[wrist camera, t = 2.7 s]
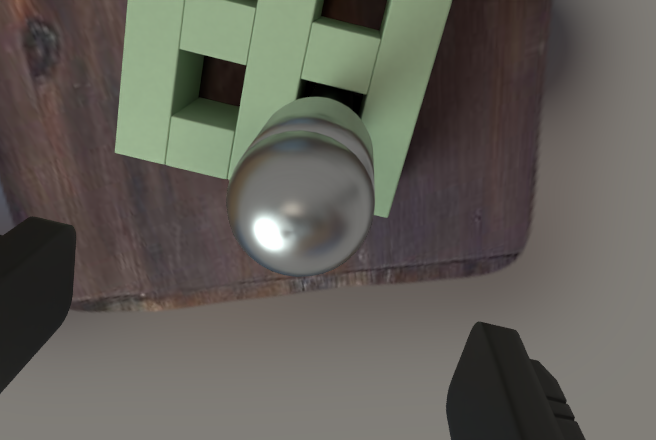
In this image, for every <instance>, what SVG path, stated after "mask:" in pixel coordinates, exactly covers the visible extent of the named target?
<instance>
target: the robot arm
mask: <svg viewBox="0 0 656 440" xmlns="http://www.w3.org/2000/svg"><path fill="white" fill-rule="evenodd" d="M75 249H76V232H75V229H74V227H73V226H72V225H68V224H64V223H60V222H56V221H51V220H47V219H43V218H38V217H33V216H32V217H29V218H27V219H26V220H25V221H23V222H22V223H20V224H19V225H17V226H16V227H14V228H13V229H12V230H10V231H9V232H7V233H6V234H4V235H0V393H1V392H2V391H3V390H4V389H5V388H6V387H7V385H8V384H9V383H10V382H11V381H12V380H13V379H14V378H15V376H16V375H17V374H18V373H19V372H20V371H21V370H22V369H23V367H24V366H25V365H26V364H27V363H28V362H29V361H30V360H31V358H32V357H33V356H34V355H35V354H36V353H37V352H38V350H40V348H41V347H42V346H43V345H44V344H45V343H46V342H47V341H48V339H49V338H50V337H51V336H52V335H53V334H54V333H55V331H56V330H57V329H58V328H59V327H60V326H61V325H62V323H63V321H64V320H65V318H66V316H67V314H68V311H69V308H70V305H71V301H72V295H73V281H74V265H75ZM446 413H447V420H448V425H449V430H450V436H451V440H585V438H584V436H583V434H582V432H581V429H580V428H579V425H578V423H577V422H576V421H574V418H575V417H574V415H573V413H572V411H571V409H570V407H569V405H568V404H566V398H565V396H564V394H563V392H562V390H561V388H560V386H559V384H558V382H557V380H556V379H555V378H554V377H553V376H552V375H551V374H550V373H549V372H548V371H547V370H546V369H545V367H544V366H543V365H542V364H541V363H540V362H539V361H537V360H532V359H529V357H528V354H527V352H526V350H525V347H524V345H523V343H522V340H521V338H520V336H519V334H518V332H517V331H516V330H513V329H509V328H505V327H500V326H496V325H491V324H488V323H483V322H477V323H476V324H475V325H474V326H473V328H472V330H471V332H470V335H469V337H468V339H467V342H466V345H465V347H464V350H463V352H462V355H461V357H460V360H459V362H458V365H457V368H456V370H455V373H454V375H453V378H452V380H451V383H450V386H449V390H448V395H447V403H446Z"/></svg>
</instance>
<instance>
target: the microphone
mask: <svg viewBox="0 0 656 440" xmlns="http://www.w3.org/2000/svg"><path fill="white" fill-rule="evenodd" d="M353 103H354V98H353V93H352V91H349V90H345V89H341V88H337V87H333V86H329V85H325V84H320V83H318V84H317V85H316V87H315V88H314V90H313V91H312V93H311V95H310V97H306V98H302V99H298V100H295V101H293V102H291V103H289V104H287V105H285V106H283V107H282V108H280V109H279V110H278V111H277V112H275V113H274V114H273V115H272V116H271V118H270V119H269V120H268V121H267V123H266V124H265V126H264V127H263V128H262V130H261V131H260V132H259V134H258V135H257V137H256V138H255V139H254V141H253V142H252V143H251V145H250V146H249V148H248V149H247V150H246V152H245V153H244V154H243V156H242V157H241V159H240V160H239V162H238V163H237V165H236V167H235V168H234V171H233V173H232V176H231V179H230V182H229V186H228V189H227V199H226V206H227V213H228V220H229V224H230V226H231V229H232V232H233V235H234V236H235V238H236V240H237V241H238V243H239V245H240V246H241V247H242V249H243V250H244V251H245V252H246V253H247V254H248V255H249V256H250V257H251V258H252V259H254V260H255V261H256V262H257V263H259V264H260V265H262V266H264V267H265V268H267V269H269V270H271V271H274V272H277V273H280V274H283V275H289V276H295V277H298V276H313V275H318V274H323V273H326V272H328V271H330V270H333V269H335V268H337V267H338V266H340V265H341V264H343V263H344V262H346V261H347V260H348V259H349V258H350V257H351V256H352V255H353V254H354V253H355V252H356V251H357V250H358V249H359V248H360V246H361V245H362V243H363V242H364V240H365V239H366V237H367V235H368V232H369V230H370V227H371V225H372V220H373V216H374V210H375V185H374V155H373V146H372V141H371V138H370V135H369V133H368V131H367V129H366V127H365V125H364V123H363V122H362V120H361V119H360V118H359V116H358V115H357V114H356V113H354V112H353Z"/></svg>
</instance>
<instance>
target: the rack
mask: <svg viewBox="0 0 656 440" xmlns="http://www.w3.org/2000/svg"><path fill="white" fill-rule="evenodd" d="M323 3H324V0H128V5H127V17H126V28H125V40H124V52H123V64H122V75H121V87H120V99H119V111H118V122H117V134H116V146H115V153H118V154H122V155H127V156H131V157H135V158H139V159H143V160H148V161H152V162H156V163H160V164H166V165H168V166H173V167H177V168H181V169H185V170H189V171H193V172H198V173H202V174H206V175H210V176H214V177H219V178H223V179H227V178H228V180H230V179H231V176H232V173H233V171H234V168H235V167H236V165H237V163H238V162H239V160H240V159H241V157H242V156H243V154H244V153H245V152H246V150H247V149H248V148H249V146H250V145H251V143H252V142H253V141H254V139H255V138H256V137H257V135H258V134H259V132H260V131H261V130H262V128H263V127H264V126H265V124H266V123H267V121H268V120H269V119H270V118H271V116H272V115H273V114H274V113H275V112H277V111H278V110H279V109H280V108H282V107H283V106H285V105H287V104H289V103H291V102H293V101H295V100H298V99H302V98H303V97H304V93H305V88H306V83H307V80H308V81H312V82H316V83H320V84H325V85H329V86H333V87H337V88H341V89H345V90H349V91H353V92H357V93H361V94H363V97H362V101H361V105H360V109H359V113H358V116H359V118H360V119H361V120H362V122H363V123H364V125H365V127H366V129H367V131H368V133H369V135H370V138H371V141H372V146H373V155H374V185H375V210H374V215H377V216H381V217H386V218H387V217H388V216H389V213H390V209H391V206H392V203H393V199H394V196H395V192H396V189H397V186H398V182H399V179H400V176H401V172H402V169H403V165H404V162H405V159H406V155H407V152H408V149H409V145H410V142H411V138H412V135H413V132H414V128H415V125H416V122H417V118H418V115H419V111H420V108H421V105H422V101H423V98H424V95H425V91H426V88H427V84H428V81H429V78H430V74H431V71H432V68H433V64H434V61H435V57H436V54H437V51H438V47H439V44H440V41H441V37H442V34H443V30H444V27H445V24H446V20H447V17H448V14H449V10H450V7H451V3H452V0H387V3H386V7H385V11H384V15H383V19H382V23H381V26H380V30H375V29H371V28H367V27H363V26H359V25H355V24H351V23H347V22H343V21H339V20H335V19H331V18H327V17H323V16H321V13H322V8H323ZM204 55H206V56H210V57H214V58H218V59H222V60H226V61H231V62H235V63H239V64H243V65H247V67H246V73H245V78H244V84H243V90H242V96H241V102H240V107H238V106H233V105H229V104H225V103H221V102H217V101H213V100H209V99H205V98H201V97H199V90H200V83H201V76H202V69H203V62H204ZM198 97H199V98H198Z"/></svg>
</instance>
